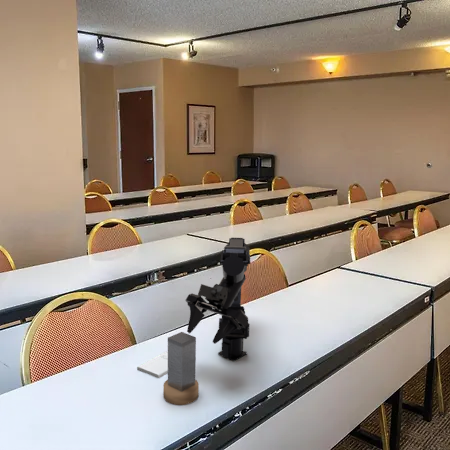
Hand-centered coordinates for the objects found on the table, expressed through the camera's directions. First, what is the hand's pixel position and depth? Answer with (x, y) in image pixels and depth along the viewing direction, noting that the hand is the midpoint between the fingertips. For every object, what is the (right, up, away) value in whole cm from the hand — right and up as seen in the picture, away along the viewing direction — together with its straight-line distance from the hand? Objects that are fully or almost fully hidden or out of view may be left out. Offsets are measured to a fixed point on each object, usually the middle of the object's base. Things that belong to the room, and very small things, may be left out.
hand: (200, 337), depth 134 cm
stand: (-5, -14, -3) cm, 15 cm away
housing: (-5, -11, -3) cm, 13 cm away
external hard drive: (-12, -12, +13) cm, 21 cm away
